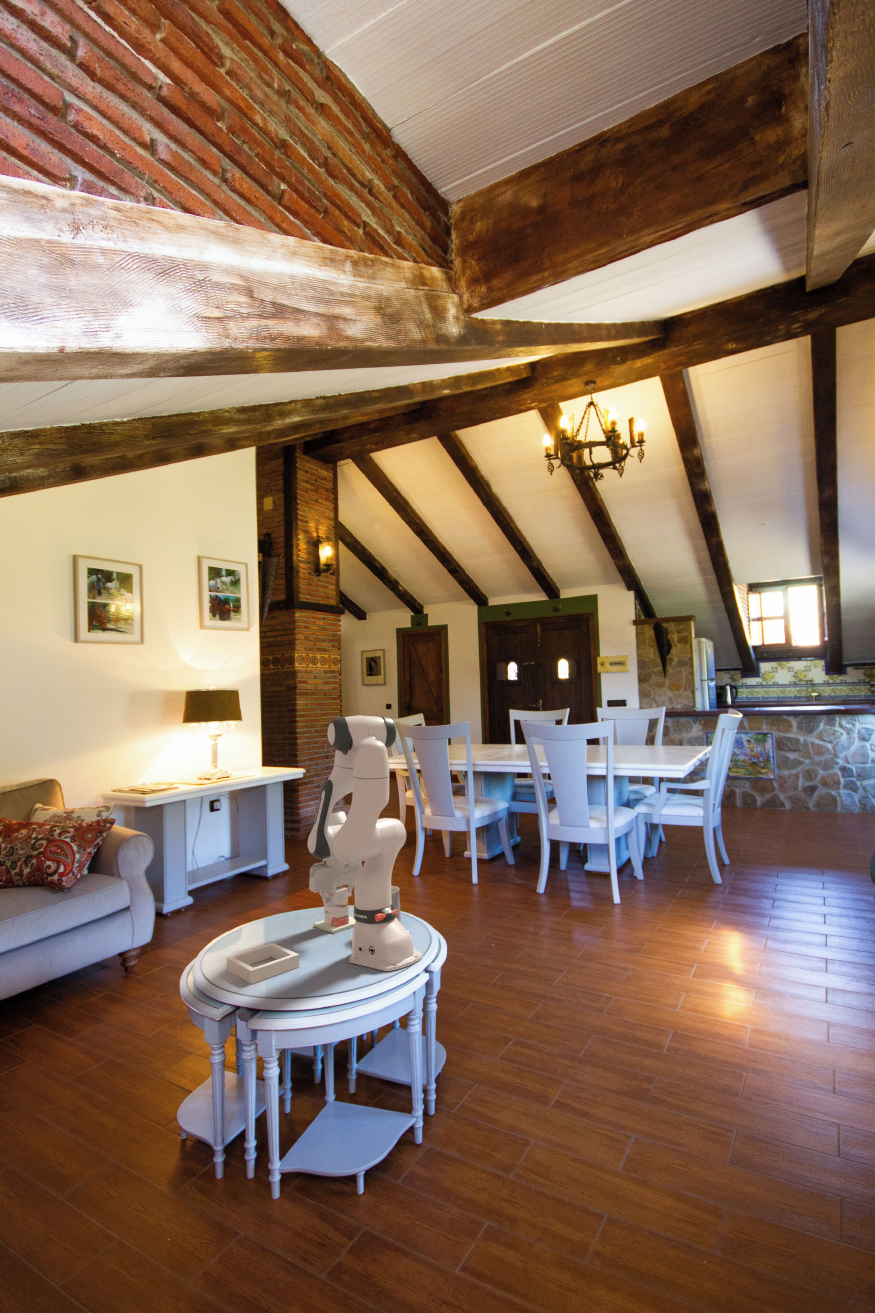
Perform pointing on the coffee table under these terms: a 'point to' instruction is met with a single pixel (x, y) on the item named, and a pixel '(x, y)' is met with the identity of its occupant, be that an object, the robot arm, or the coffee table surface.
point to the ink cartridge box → (336, 906)
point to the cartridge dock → (252, 975)
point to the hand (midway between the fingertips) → (337, 899)
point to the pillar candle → (396, 901)
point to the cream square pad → (335, 929)
